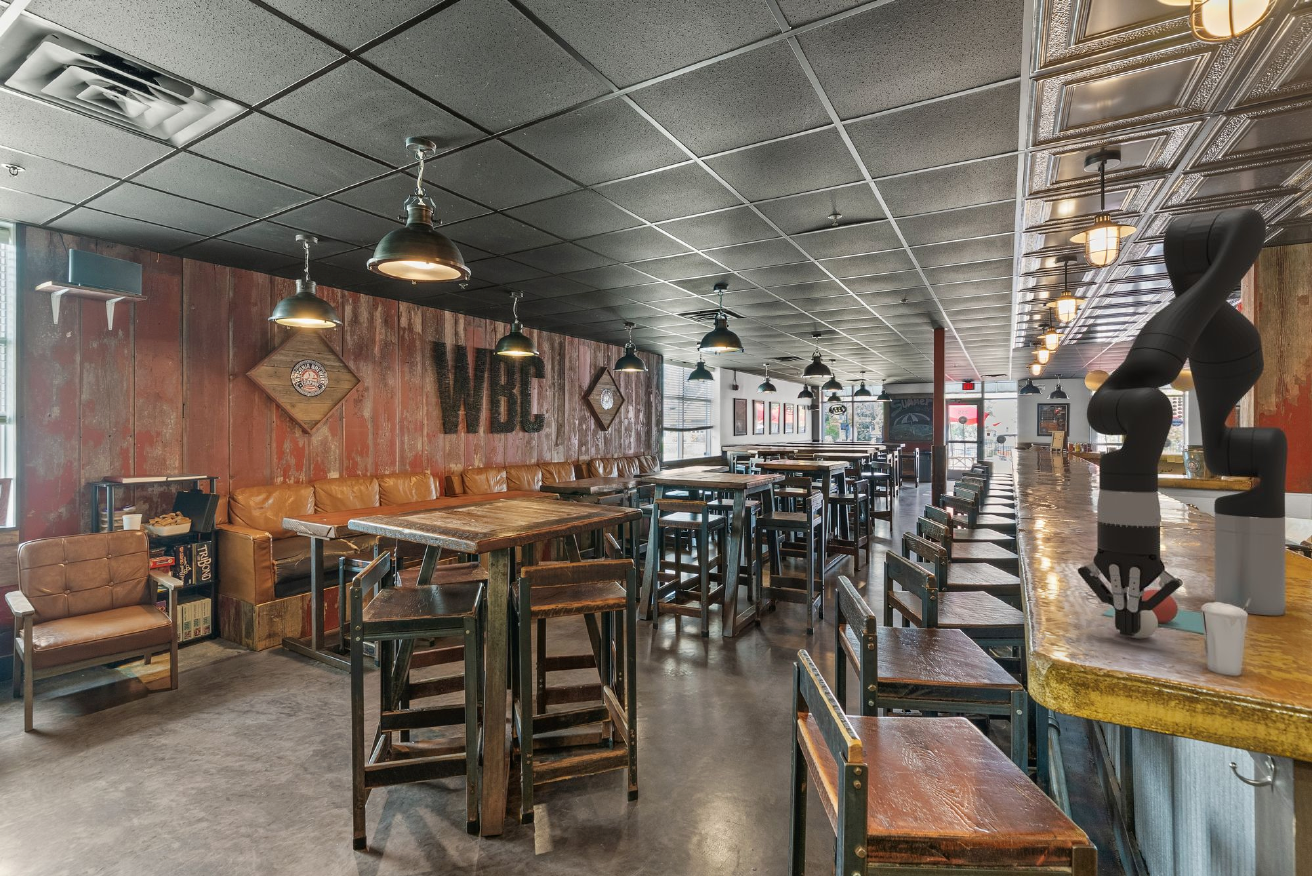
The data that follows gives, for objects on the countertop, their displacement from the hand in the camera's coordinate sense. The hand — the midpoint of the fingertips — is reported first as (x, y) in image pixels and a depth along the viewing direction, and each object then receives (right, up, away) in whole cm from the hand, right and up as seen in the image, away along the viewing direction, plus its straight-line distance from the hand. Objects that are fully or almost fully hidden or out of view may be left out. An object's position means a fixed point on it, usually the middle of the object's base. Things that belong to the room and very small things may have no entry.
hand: (1128, 634), depth 91 cm
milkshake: (+5, -2, -11) cm, 12 cm away
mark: (+17, -2, +14) cm, 22 cm away
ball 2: (+13, +1, +11) cm, 17 cm away
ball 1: (+3, +1, +3) cm, 5 cm away
